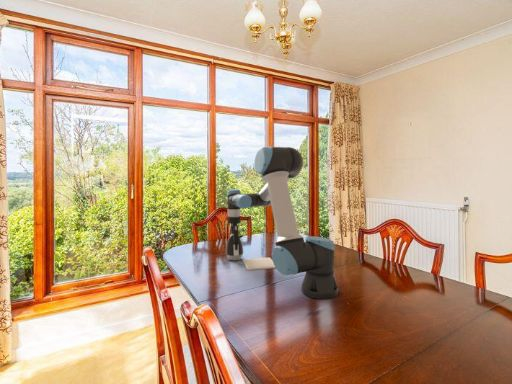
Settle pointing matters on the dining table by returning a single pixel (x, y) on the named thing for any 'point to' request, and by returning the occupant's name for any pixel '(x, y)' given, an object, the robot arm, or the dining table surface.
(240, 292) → the dining table surface
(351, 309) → the dining table surface
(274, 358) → the dining table surface
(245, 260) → the trivet
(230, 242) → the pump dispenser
